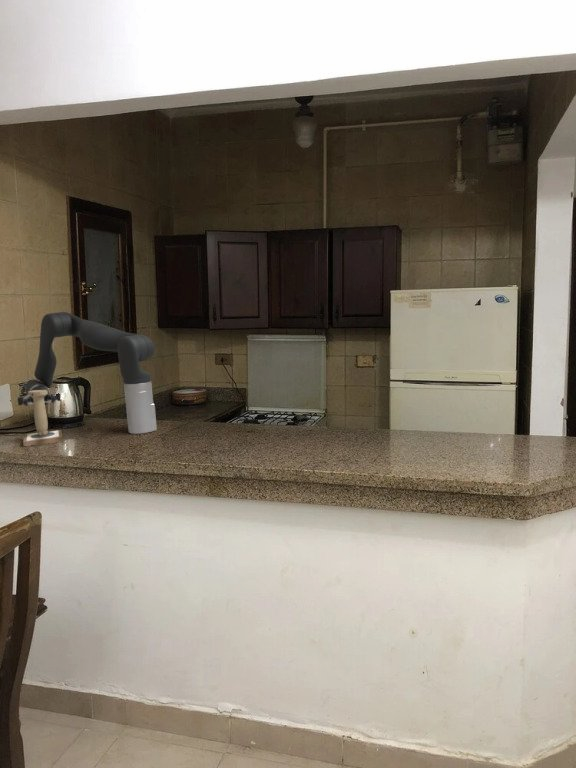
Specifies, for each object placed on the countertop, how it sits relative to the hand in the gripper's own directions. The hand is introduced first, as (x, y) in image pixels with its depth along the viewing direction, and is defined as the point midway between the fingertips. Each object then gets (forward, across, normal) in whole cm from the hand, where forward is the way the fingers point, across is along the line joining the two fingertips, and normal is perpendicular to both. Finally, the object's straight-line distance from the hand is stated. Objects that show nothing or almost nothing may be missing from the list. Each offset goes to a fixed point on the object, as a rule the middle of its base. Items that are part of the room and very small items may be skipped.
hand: (39, 401), depth 209 cm
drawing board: (+11, 0, +12) cm, 16 cm away
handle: (+11, 0, +10) cm, 15 cm away
